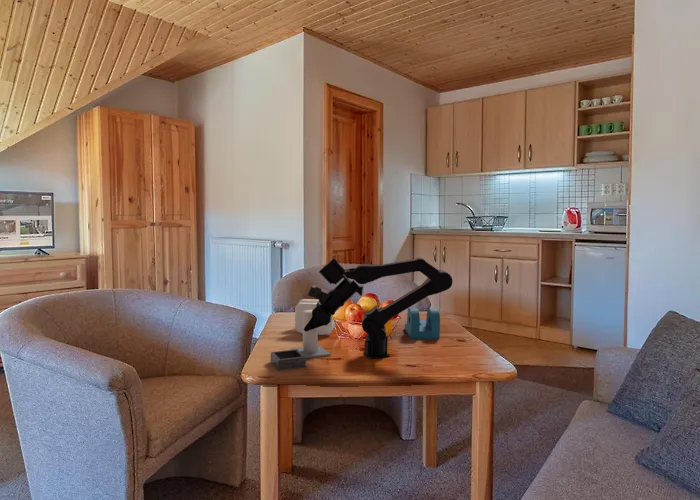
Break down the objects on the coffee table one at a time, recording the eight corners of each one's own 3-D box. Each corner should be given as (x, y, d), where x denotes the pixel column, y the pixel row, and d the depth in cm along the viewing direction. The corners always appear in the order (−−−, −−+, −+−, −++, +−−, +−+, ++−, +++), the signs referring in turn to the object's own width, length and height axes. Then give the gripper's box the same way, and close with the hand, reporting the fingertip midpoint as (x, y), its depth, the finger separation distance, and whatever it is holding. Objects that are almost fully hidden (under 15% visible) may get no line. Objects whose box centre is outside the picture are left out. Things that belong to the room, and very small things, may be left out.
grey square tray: (297, 358, 145) (297, 349, 145) (305, 366, 138) (306, 357, 137) (270, 361, 142) (270, 352, 142) (278, 370, 134) (278, 360, 134)
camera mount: (439, 339, 170) (440, 311, 169) (411, 339, 169) (411, 310, 169) (428, 326, 188) (429, 301, 187) (402, 326, 187) (403, 301, 186)
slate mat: (319, 347, 158) (319, 345, 158) (330, 355, 149) (330, 353, 149) (290, 350, 154) (290, 348, 154) (300, 359, 145) (300, 357, 144)
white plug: (318, 348, 153) (317, 309, 152) (317, 353, 149) (316, 313, 147) (303, 348, 153) (302, 310, 152) (302, 353, 149) (301, 313, 147)
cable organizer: (292, 334, 174) (292, 303, 173) (299, 327, 184) (299, 298, 183) (332, 335, 172) (332, 305, 171) (336, 328, 183) (336, 299, 182)
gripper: (326, 272, 158) (293, 304, 160) (319, 281, 139) (283, 316, 141) (349, 296, 158) (316, 327, 160) (345, 307, 140) (308, 342, 141)
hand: (306, 327), depth 150 cm, fingers open, 7 cm apart
